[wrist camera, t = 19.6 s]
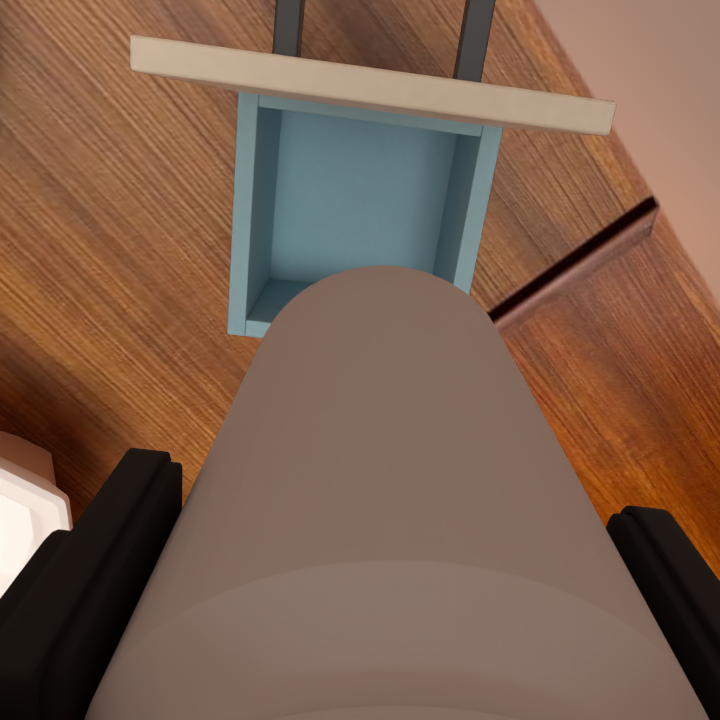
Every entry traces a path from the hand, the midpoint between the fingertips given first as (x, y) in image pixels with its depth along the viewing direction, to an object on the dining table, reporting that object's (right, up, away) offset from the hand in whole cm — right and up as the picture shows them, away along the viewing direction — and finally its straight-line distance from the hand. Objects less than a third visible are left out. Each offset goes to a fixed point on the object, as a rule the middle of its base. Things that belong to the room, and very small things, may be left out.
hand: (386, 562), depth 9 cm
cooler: (0, +12, +28) cm, 31 cm away
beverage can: (0, +3, +7) cm, 7 cm away
